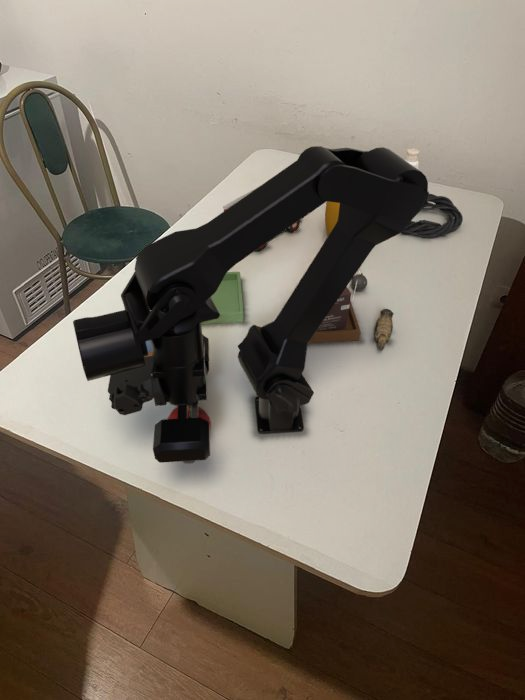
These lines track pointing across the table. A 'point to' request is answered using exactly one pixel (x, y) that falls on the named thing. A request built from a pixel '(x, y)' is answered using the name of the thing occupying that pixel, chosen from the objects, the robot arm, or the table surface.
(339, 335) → the walnut tray
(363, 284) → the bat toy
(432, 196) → the cable
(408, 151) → the pepper shaker
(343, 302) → the box
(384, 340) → the cat figurine
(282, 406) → the robot arm
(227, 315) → the produce tray
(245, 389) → the table surface
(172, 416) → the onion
